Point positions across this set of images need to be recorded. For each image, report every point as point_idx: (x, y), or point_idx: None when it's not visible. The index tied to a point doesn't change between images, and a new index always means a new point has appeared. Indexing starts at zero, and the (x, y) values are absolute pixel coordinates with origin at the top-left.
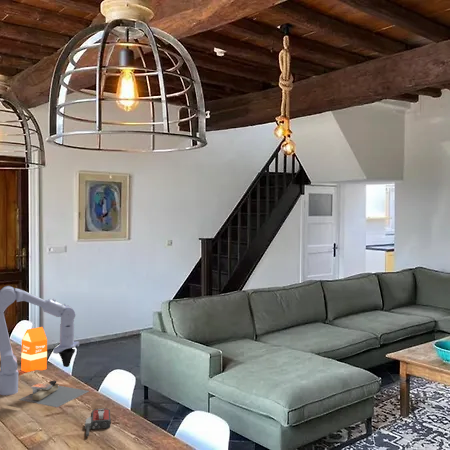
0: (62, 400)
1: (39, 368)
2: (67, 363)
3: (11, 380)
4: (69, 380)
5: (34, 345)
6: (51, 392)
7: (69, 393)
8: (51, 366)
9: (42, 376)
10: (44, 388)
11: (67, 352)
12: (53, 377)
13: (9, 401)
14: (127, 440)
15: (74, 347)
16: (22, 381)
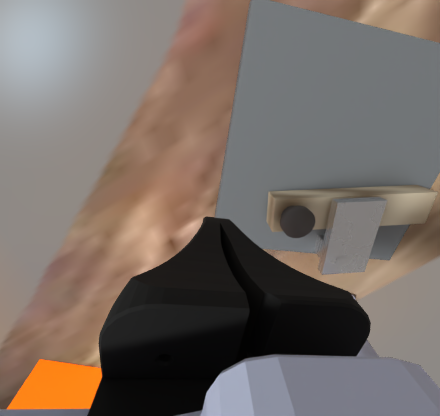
0: (412, 85)
1: (67, 374)
2: (240, 231)
3: (373, 351)
4: (106, 223)
5: None
6: (326, 189)
7: (309, 106)
8: (2, 362)
9: None
10: (380, 212)
11: (369, 320)
12: (107, 295)
13: (373, 280)
14: None
15: (319, 357)
16: None
